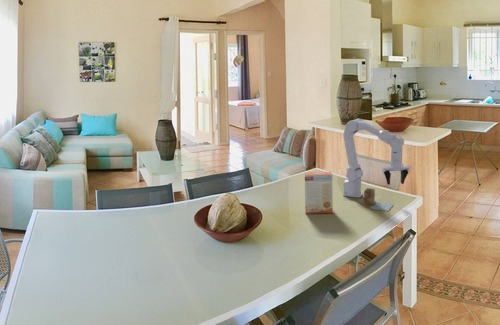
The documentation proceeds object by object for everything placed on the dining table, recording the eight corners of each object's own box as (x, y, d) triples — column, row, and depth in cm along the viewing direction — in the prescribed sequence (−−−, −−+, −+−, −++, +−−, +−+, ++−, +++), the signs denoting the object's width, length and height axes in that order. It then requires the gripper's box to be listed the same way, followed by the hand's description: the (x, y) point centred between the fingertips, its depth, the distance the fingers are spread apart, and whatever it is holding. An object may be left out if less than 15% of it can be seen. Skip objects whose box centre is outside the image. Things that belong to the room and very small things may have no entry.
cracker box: (331, 209, 228) (331, 171, 224) (332, 213, 222) (332, 174, 218) (304, 210, 230) (304, 171, 225) (305, 213, 224) (304, 174, 219)
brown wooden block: (363, 206, 232) (364, 191, 230) (367, 203, 237) (367, 188, 235) (371, 207, 230) (371, 191, 228) (374, 204, 235) (374, 189, 233)
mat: (370, 209, 227) (370, 208, 227) (376, 202, 237) (376, 202, 237) (388, 211, 222) (388, 210, 222) (393, 204, 232) (393, 204, 232)
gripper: (385, 161, 227) (385, 186, 230) (412, 160, 228) (411, 185, 231) (381, 158, 234) (380, 183, 237) (407, 157, 235) (405, 181, 238)
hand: (395, 183), depth 235 cm, fingers open, 7 cm apart
